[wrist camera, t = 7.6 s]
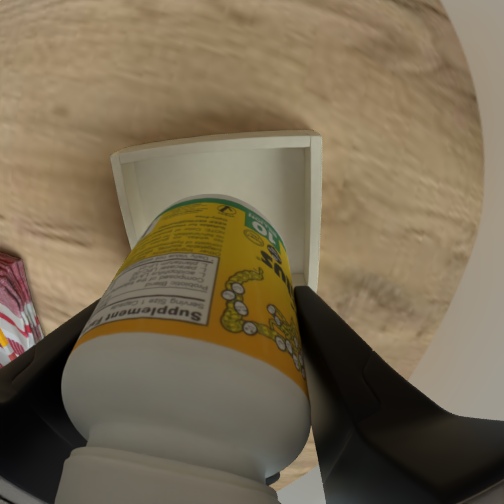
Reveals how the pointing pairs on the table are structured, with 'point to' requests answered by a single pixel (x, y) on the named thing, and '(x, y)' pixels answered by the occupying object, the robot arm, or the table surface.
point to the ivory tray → (232, 184)
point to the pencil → (7, 346)
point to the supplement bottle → (190, 366)
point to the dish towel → (16, 309)
